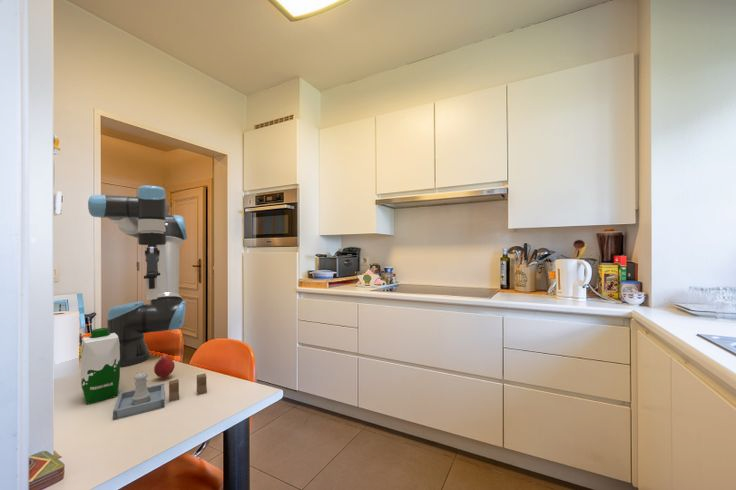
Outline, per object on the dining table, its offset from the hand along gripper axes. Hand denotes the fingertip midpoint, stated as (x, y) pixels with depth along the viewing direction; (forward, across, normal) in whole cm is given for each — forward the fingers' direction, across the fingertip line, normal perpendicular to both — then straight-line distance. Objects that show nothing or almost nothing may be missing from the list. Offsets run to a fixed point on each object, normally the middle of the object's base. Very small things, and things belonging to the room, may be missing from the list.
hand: (152, 297), depth 101 cm
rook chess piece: (+28, -14, +2) cm, 32 cm away
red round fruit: (+29, +4, -3) cm, 29 cm away
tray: (+29, -14, +2) cm, 32 cm away
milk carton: (+29, -1, +13) cm, 32 cm away
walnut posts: (+29, -16, -9) cm, 34 cm away
